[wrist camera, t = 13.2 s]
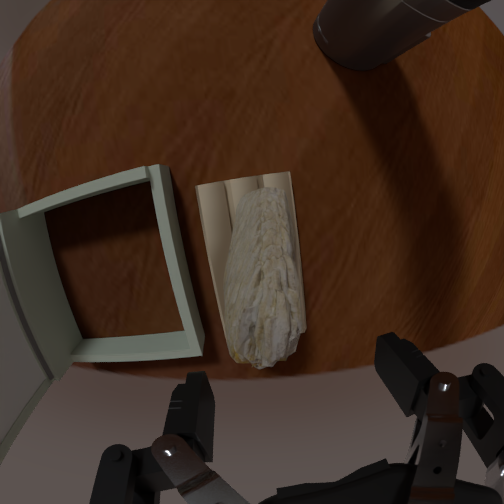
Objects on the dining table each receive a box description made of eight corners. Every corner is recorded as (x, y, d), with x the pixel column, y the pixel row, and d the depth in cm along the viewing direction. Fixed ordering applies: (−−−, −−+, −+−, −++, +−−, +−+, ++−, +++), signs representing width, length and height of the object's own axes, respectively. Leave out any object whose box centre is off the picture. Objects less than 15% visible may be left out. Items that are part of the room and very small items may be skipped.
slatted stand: (286, 172, 26) (291, 171, 24) (303, 322, 31) (307, 331, 29) (197, 185, 26) (194, 186, 24) (226, 336, 30) (226, 346, 28)
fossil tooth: (295, 193, 26) (276, 336, 28) (231, 185, 25) (217, 333, 27) (351, 185, 15) (310, 403, 17) (245, 167, 14) (222, 405, 16)
